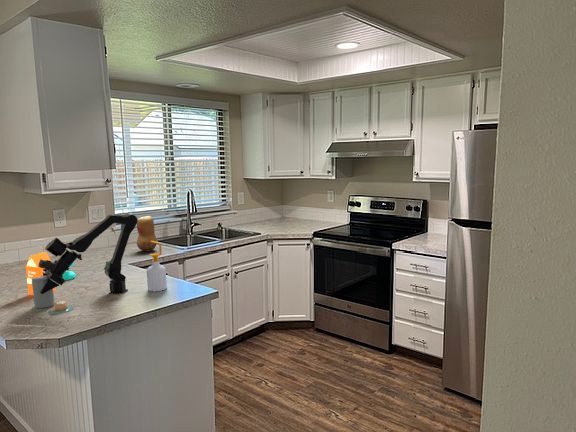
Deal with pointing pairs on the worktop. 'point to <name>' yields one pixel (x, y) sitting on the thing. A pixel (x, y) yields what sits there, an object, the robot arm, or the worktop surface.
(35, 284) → the grey canister
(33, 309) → the mat
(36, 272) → the orange juice
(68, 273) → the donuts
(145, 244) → the butternut squash
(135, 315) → the worktop surface
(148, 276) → the soap bottle
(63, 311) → the teal disc stand
